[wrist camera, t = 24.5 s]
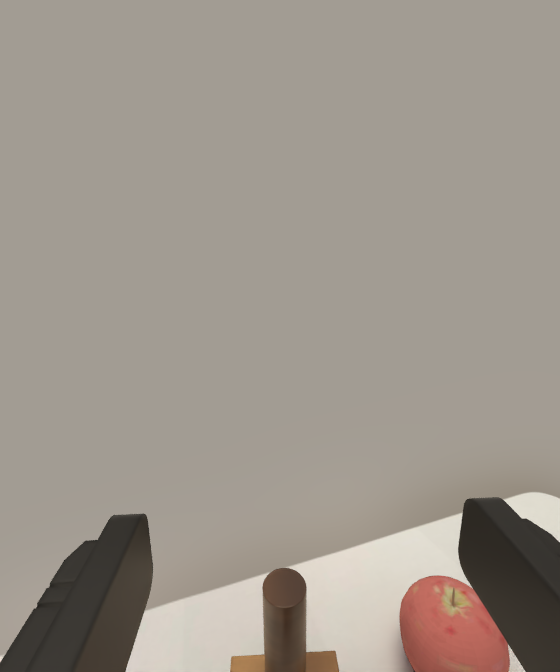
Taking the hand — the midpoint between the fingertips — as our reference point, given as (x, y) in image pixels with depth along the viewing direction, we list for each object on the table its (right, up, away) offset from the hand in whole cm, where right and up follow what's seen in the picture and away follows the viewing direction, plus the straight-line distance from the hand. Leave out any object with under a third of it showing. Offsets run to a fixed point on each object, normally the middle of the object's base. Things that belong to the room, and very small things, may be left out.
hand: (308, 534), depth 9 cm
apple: (+13, -22, +20) cm, 32 cm away
